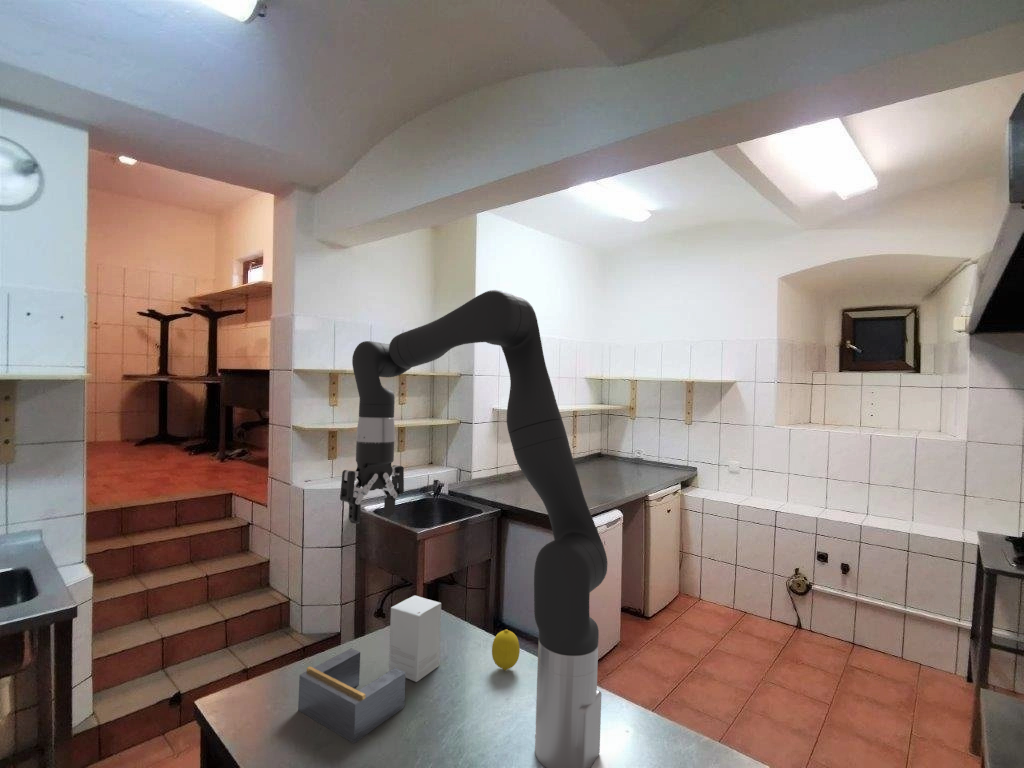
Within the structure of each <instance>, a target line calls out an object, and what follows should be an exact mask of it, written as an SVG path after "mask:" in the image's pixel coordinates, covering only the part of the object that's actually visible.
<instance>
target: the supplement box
mask: <svg viewBox="0 0 1024 768" xmlns="http://www.w3.org/2000/svg"><path fill="white" fill-rule="evenodd" d="M441 619H442V602H440V601H436V600H432V599H428V598H425V597H422V596H418V595H412V596H411V597H409V598H406V599H404V600H402V601H401V602H398V603H397V604H395V605H393V606H391V607H390V626H389V629H390V630H389V654H388V655H389V658H388V659H389V661H388V672H389V671H391V670H392V669H394V668H397V669H399V670H401V671H404V672H406V675H405V679H408V680H410V681H413V682H415V683H418V682H419V681H421V679H423V678H424V677H426V676H427V675H428V674H430V673H432V671H434V670H436V669H438V667H439V666H440V661H441V660H440V659H441V656H440V655H441V627H442V626H441V625H442V621H441Z"/></svg>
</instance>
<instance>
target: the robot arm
mask: <svg viewBox="0 0 1024 768" xmlns="http://www.w3.org/2000/svg"><path fill="white" fill-rule="evenodd" d="M478 343H487V344H489V345H494V346H500V347H501V349H502V352H503V355H504V358H505V362H506V365H507V368H508V373H509V380H510V383H509V384H510V385H509V386H510V387H509V394H508V401H507V406H506V407H507V410H506V425H507V426H506V427H507V431H508V436H509V440H510V442H511V443H510V444H511V446H512V450H513V454H514V457H515V460H516V463H517V465H518V466H519V468H520V470H521V472H522V475H523V476H524V477H525V478H526V479H527V481H528V483H529V484H530V485H531V486H532V488H533V489H534V491H535V492H536V494H537V495H538V496H539V498H540V499H541V501H542V503H543V505H544V507H545V510H546V511H547V512H546V513H547V515H548V518H549V522H550V526H551V529H552V535H553V539H554V540H552V541H550V542H548V543H546V544H544V546H543V547H541V549H540V550H539V551H538V554H537V556H536V559H535V563H534V570H533V571H534V572H533V596H534V597H533V602H534V603H533V607H534V608H533V612H534V614H533V615H534V620H535V624H536V626H537V628H538V629H537V630H538V643H537V644H538V648H537V649H538V650H537V651H538V652H537V677H536V699H535V701H536V705H535V706H536V707H535V730H534V731H535V734H534V739H535V740H534V754H535V756H536V758H537V760H538V762H540V764H541V765H542V766H543V767H545V768H591V767H592V765H593V764H594V763H595V761H596V760H597V758H598V756H599V755H600V754H601V753H600V752H601V751H600V749H601V724H602V723H601V719H602V718H601V717H602V713H601V712H602V691H600V690H598V666H599V665H598V663H599V661H598V660H599V637H600V636H599V626H598V623H597V622H596V621H595V620H594V619H593V618H592V617H590V595H591V594H590V593H591V592H592V591H594V590H595V589H596V588H597V587H599V586H600V585H601V584H602V583H603V582H604V579H606V575H607V572H608V558H607V553H606V552H607V551H606V549H605V546H604V544H603V542H602V538H601V536H600V533H599V532H598V528H597V526H596V524H595V521H594V519H593V516H592V513H591V512H590V509H589V506H588V504H587V502H586V501H587V500H586V498H585V495H584V492H583V488H582V485H581V480H580V477H579V474H578V470H577V467H576V464H575V461H574V457H573V454H572V451H571V446H570V442H569V438H568V435H567V431H566V429H565V428H566V427H565V424H564V421H563V417H562V415H561V412H560V410H559V407H558V403H557V399H556V396H555V391H554V388H553V384H552V382H551V379H550V375H549V371H548V369H547V368H548V367H547V364H546V361H545V355H544V349H543V343H542V338H541V334H540V327H539V323H538V318H537V313H536V312H535V310H534V307H533V305H532V304H531V303H530V302H529V301H528V300H527V299H525V298H524V297H522V296H519V295H517V294H514V293H510V292H507V291H503V290H498V289H493V290H492V289H490V290H487V291H484V292H482V293H480V294H478V295H477V296H475V297H473V298H472V299H470V300H469V301H467V302H465V303H463V304H462V305H460V306H458V307H457V308H455V309H453V310H452V311H451V312H448V313H447V314H445V315H443V316H441V317H439V318H437V319H436V320H433V321H431V322H429V323H425V324H423V325H421V326H418V327H415V328H413V329H409V330H407V331H405V332H402V333H399V334H397V335H395V336H394V337H393V338H392V339H391V341H390V343H385V342H384V343H382V342H377V341H372V340H371V341H370V340H364V341H362V342H359V344H357V345H356V347H355V350H354V351H353V354H352V357H351V358H352V360H351V361H352V364H351V365H352V370H353V374H354V377H355V378H354V379H355V383H356V388H357V392H358V397H359V403H358V404H359V407H358V421H357V427H356V440H355V441H356V442H355V443H356V446H355V463H356V469H355V470H348V469H344V470H342V473H341V483H340V484H341V486H340V495H339V500H340V501H341V502H344V503H347V504H348V520H349V521H350V523H351V524H355V525H357V524H360V522H361V509H362V508H361V507H362V505H361V502H362V500H363V498H364V497H365V496H367V494H368V493H369V492H370V491H376V490H381V491H382V493H383V494H384V496H385V497H384V504H383V505H384V508H383V515H384V516H385V517H389V518H390V517H394V514H395V511H396V498H398V496H400V495H403V494H404V492H405V476H404V475H405V474H404V473H405V469H404V466H403V465H392V463H393V462H394V460H395V459H394V458H395V434H396V428H395V427H396V426H395V405H396V403H395V402H396V401H395V398H396V397H395V393H394V391H392V390H391V389H389V388H386V387H384V386H383V385H382V383H381V379H380V378H394V377H398V376H400V375H403V374H404V373H406V372H407V371H409V370H410V369H412V368H414V367H415V368H416V367H418V366H421V365H425V364H428V363H430V362H434V361H436V360H437V359H440V358H442V357H443V356H444V355H445V354H446V353H448V352H449V351H450V350H451V349H454V348H455V347H456V348H457V347H459V346H463V345H467V344H468V345H469V344H478ZM390 477H391V478H390Z"/></svg>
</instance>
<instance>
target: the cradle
mask: <svg viewBox="0 0 1024 768" xmlns="http://www.w3.org/2000/svg"><path fill="white" fill-rule="evenodd" d="M360 667H361V651H360V650H359V651H358V650H356V649H355V648H352V647H351V648H349V649H347V650H345V651H342V653H339V654H337V655H336V656H333V657H332V658H330V659H328V660H325V661H324V662H322V663H320V664H318V665H316V666H314V667H313V666H310V665H309V666H308V667H306V671H304V672H303V673H300V674H299V679H298V680H299V685H298V704H297V711H298V712H301V714H303V713H304V714H303V715H304V716H307V717H308V718H310V719H312V720H314V722H317V723H318V724H320V725H321V726H323V727H326V728H327V729H329V730H330V731H332V732H333V733H335V734H336V735H339V736H340V737H342V738H344V739H346V740H347V741H349V742H351V743H352V744H355V743H357V742H359V740H361V739H362V738H364V737H365V736H367V734H369V733H370V732H372V731H373V730H375V729H376V728H378V727H379V726H380V725H381V724H383V723H384V722H385V721H387V720H388V719H390V718H391V717H393V716H394V715H395V714H397V713H398V712H399V711H401V710H403V709H404V708H405V701H406V700H405V698H406V697H405V696H406V678H405V675H406V672H404V671H401V670H399V669H397V668H394V669H392V670H391V671H389V670H388V671H387V672H386V673H384V674H383V675H381V676H380V677H378V678H377V679H375V680H373V681H371V682H370V683H368V684H367V685H365V686H363V687H362V688H360V689H356V687H357V686H359V685H360V671H361V670H360V669H361V668H360Z"/></svg>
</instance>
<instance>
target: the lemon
mask: <svg viewBox="0 0 1024 768" xmlns="http://www.w3.org/2000/svg"><path fill="white" fill-rule="evenodd" d="M520 647H521V646H520V642H519V638H518V637H517V635H516V634H515V633H514V632H513V631H511V630H508V629H504V630H501V631H499V632H498V633H497V634H496V635H495V636H494V639H493V641H492V645H491V656H492V660H493V662H494V663H495V665H496V666H497V667H499V668H500V669H502V671H504V672H505V671H507V670H509V669H511V668H513V667H514V666H515V665H516V664H517V662H518V660H519V657H520V652H521V651H520Z"/></svg>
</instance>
